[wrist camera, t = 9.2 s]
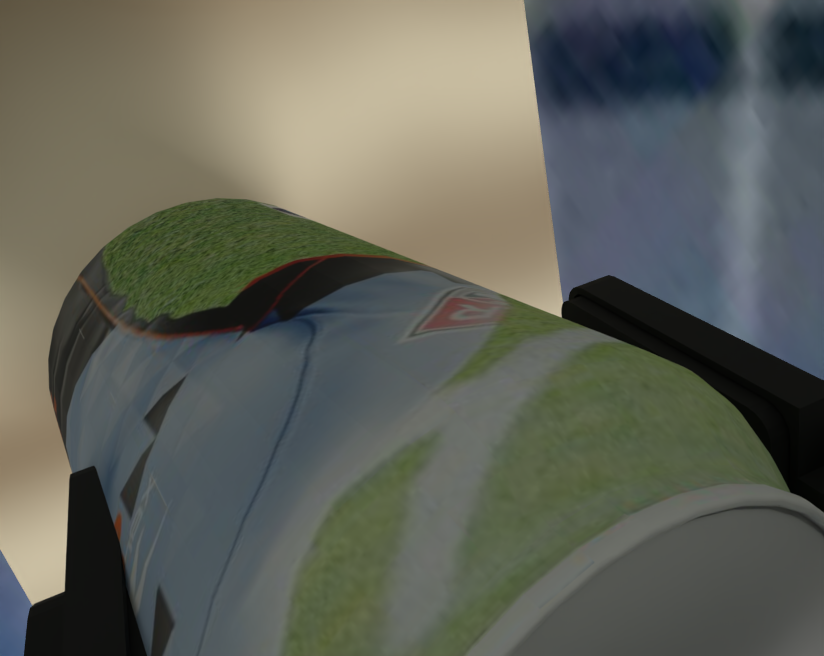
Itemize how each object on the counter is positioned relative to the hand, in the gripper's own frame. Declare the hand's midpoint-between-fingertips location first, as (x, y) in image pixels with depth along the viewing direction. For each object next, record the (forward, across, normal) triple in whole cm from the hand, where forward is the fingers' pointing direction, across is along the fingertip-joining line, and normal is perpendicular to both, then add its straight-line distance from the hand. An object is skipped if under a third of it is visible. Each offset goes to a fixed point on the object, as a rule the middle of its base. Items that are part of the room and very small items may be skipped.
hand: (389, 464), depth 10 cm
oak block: (+12, 0, 0) cm, 12 cm away
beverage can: (+6, +1, 0) cm, 6 cm away
